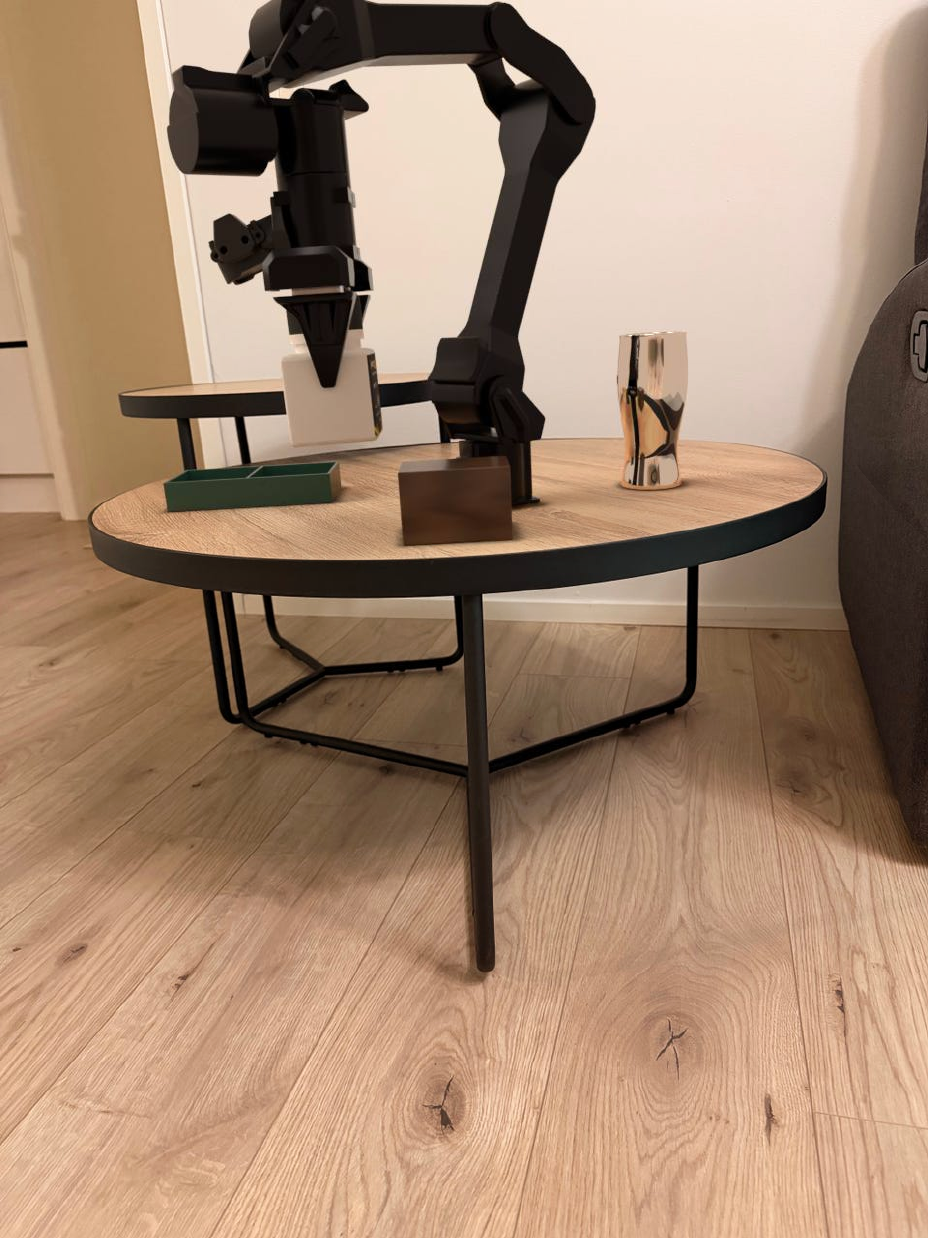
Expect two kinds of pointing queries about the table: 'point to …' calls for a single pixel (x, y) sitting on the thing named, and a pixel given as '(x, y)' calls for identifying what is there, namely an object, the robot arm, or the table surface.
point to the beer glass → (652, 406)
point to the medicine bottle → (332, 392)
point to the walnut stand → (455, 500)
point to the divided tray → (253, 486)
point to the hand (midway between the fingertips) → (335, 383)
